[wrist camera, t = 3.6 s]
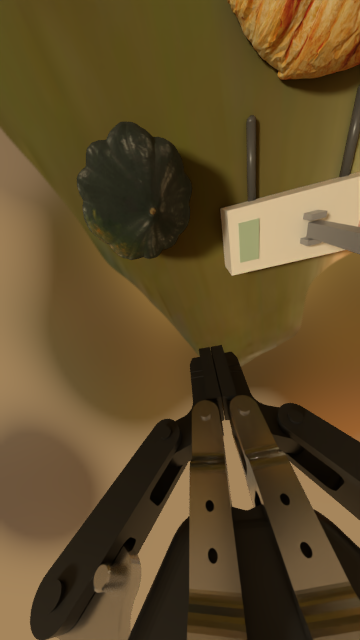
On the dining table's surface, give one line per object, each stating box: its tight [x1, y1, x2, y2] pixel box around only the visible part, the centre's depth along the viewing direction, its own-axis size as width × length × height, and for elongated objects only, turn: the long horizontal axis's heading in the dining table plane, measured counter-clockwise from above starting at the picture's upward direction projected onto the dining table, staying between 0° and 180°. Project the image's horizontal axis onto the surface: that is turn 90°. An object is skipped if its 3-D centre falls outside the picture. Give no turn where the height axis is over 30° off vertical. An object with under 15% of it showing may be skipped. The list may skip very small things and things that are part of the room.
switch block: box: [220, 85, 360, 275], centre depth 27 cm, size 20×24×7 cm
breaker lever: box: [306, 220, 360, 254], centre depth 21 cm, size 3×2×14 cm, turn 13°
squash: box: [77, 122, 192, 260], centre depth 25 cm, size 14×15×15 cm
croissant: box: [227, 0, 360, 80], centre depth 19 cm, size 21×10×8 cm, turn 83°
